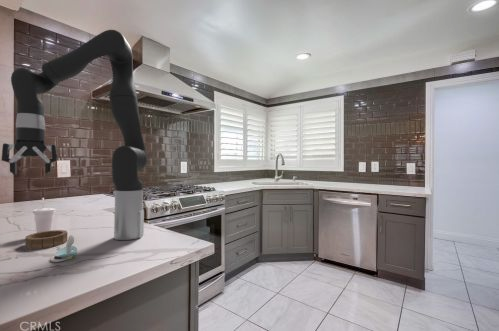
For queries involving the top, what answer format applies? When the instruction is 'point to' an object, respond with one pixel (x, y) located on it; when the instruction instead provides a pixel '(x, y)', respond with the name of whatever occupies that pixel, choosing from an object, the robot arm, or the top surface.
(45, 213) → the smoothie
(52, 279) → the top surface
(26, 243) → the brown polygonal ring
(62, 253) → the pacifier
